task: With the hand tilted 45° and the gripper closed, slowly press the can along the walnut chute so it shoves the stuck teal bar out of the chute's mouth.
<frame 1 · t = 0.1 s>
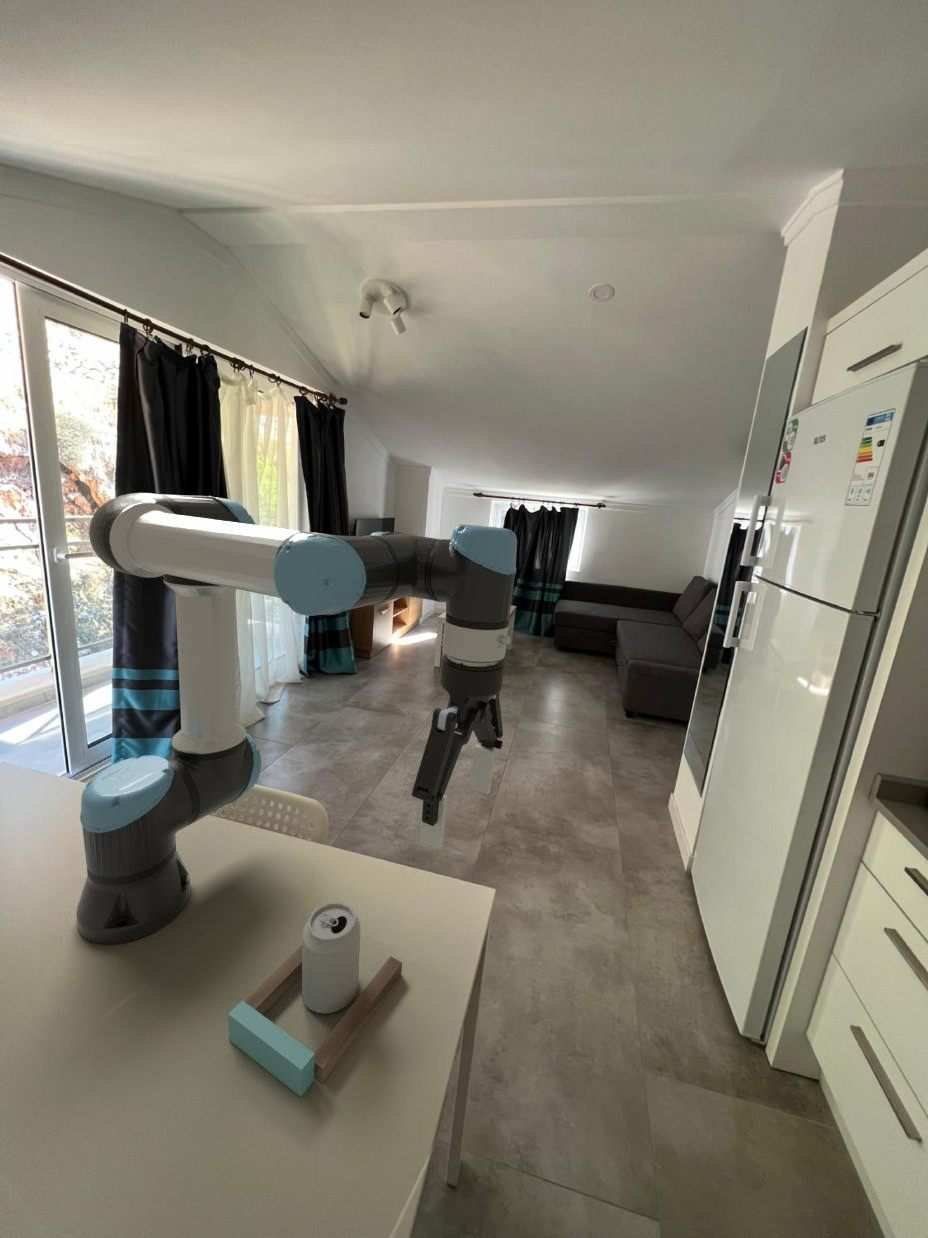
hand: (458, 814, 64), 28 cm above the table, tool pointing down, fingers open, 13 cm apart
can: (330, 993, 69), on the table
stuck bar: (270, 1046, 59), point 2 cm above the table, slide at 0.0 cm
chute: (325, 997, 68), on the table
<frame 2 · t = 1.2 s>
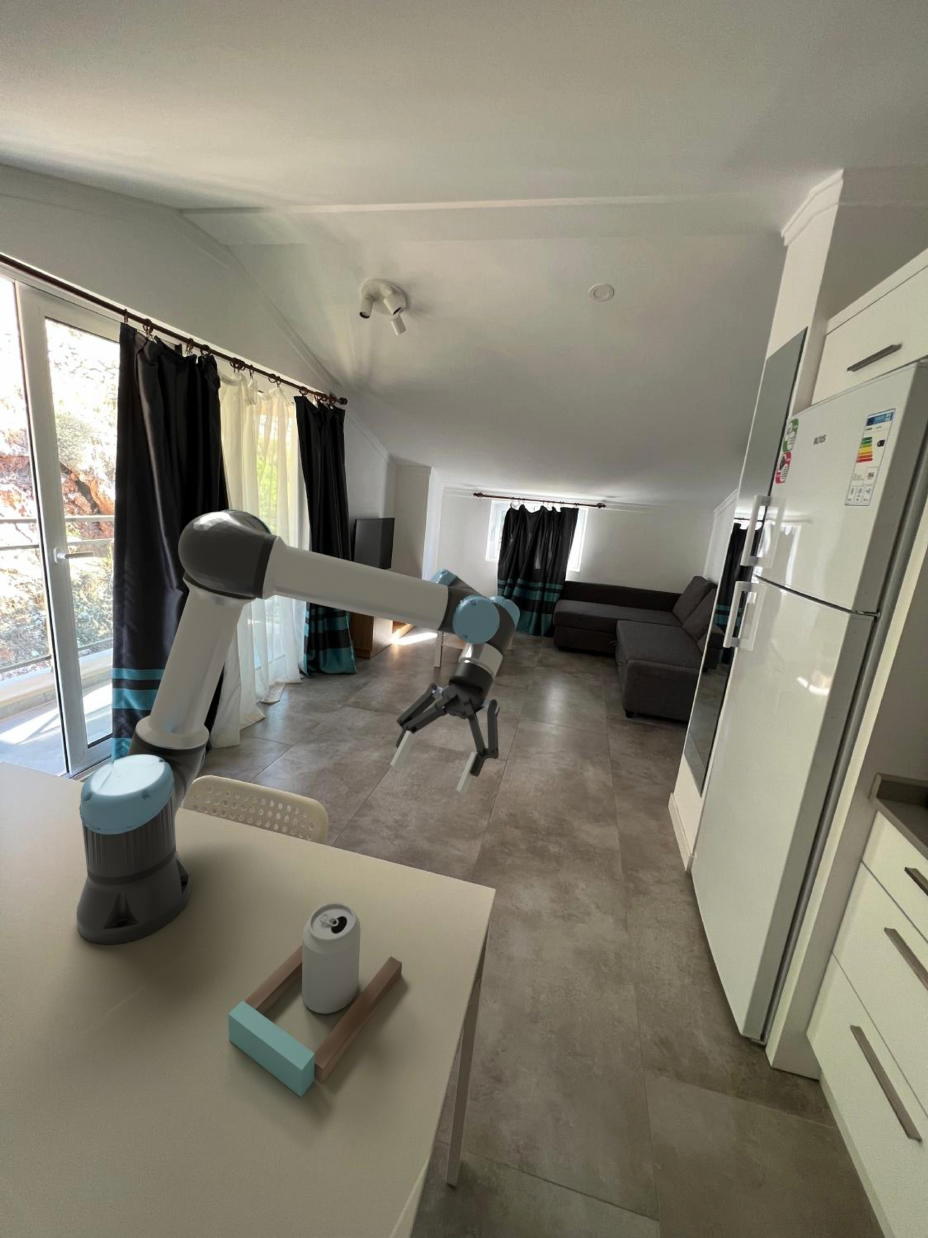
hand: (426, 780, 83), 22 cm above the table, tool tilted 45°, fingers open, 12 cm apart
nothing on the table moved.
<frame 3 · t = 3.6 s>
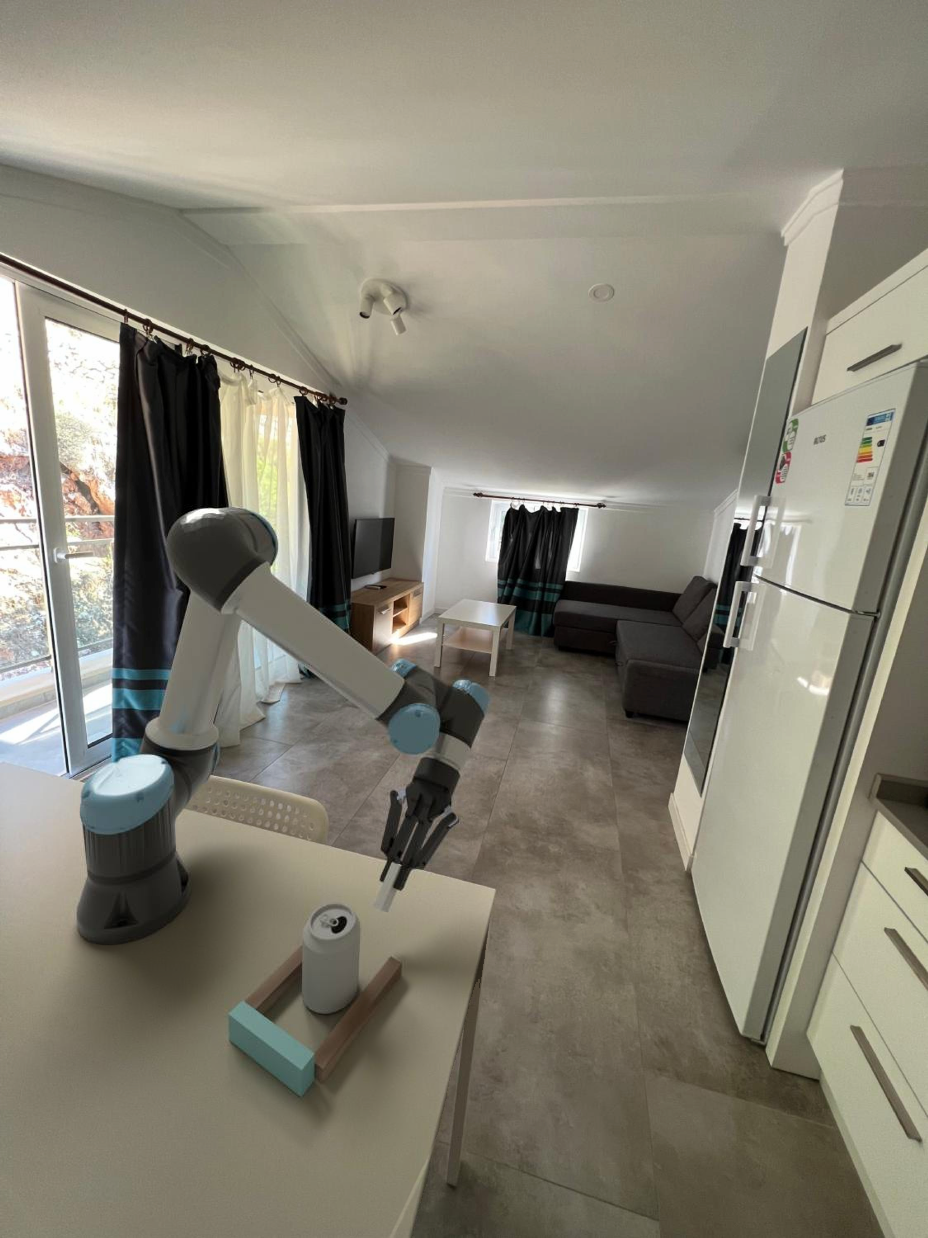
hand: (380, 909, 76), 6 cm above the table, tool tilted 45°, fingers closed
nothing on the table moved.
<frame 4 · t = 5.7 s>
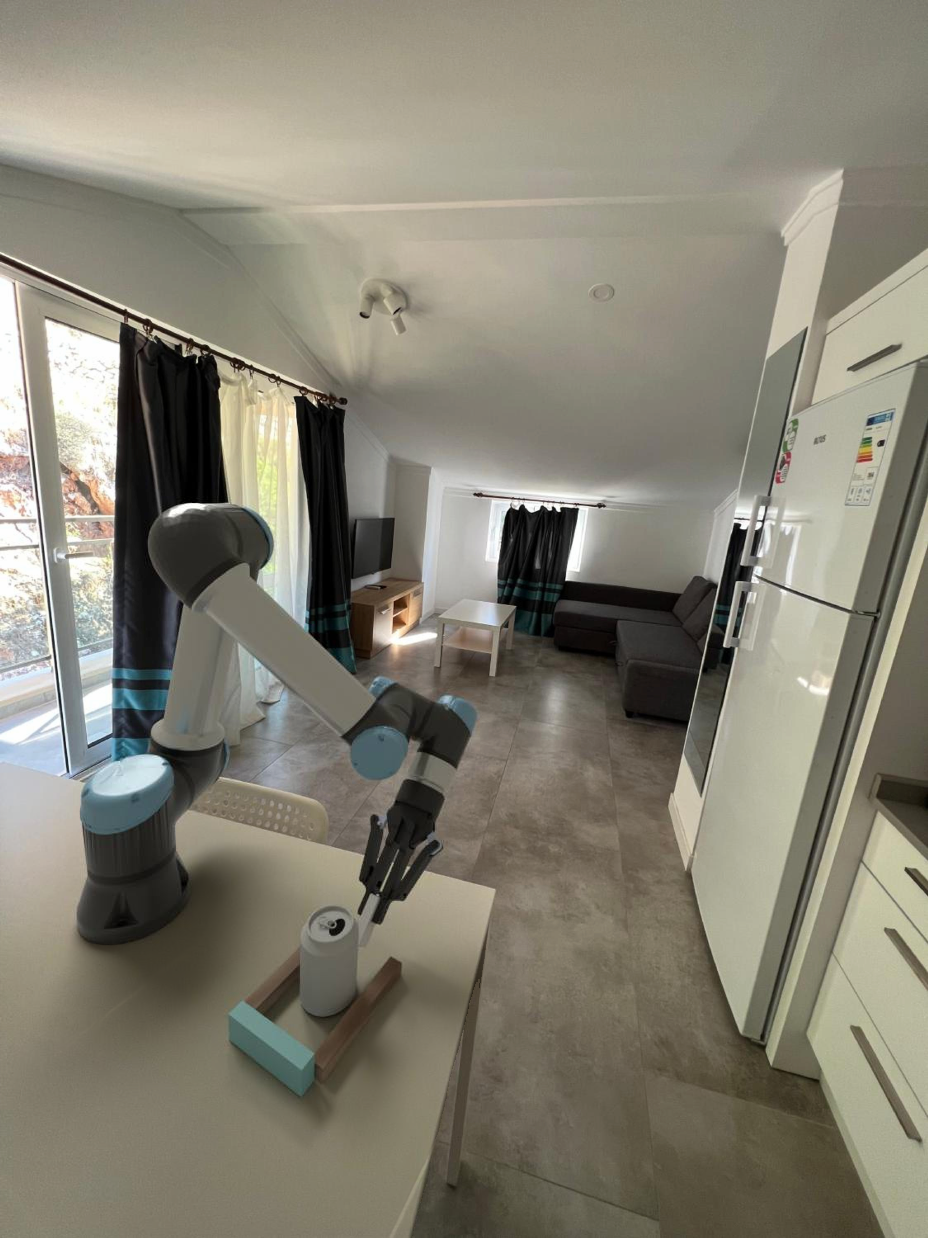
hand: (357, 944, 71), 4 cm above the table, tool tilted 45°, fingers closed
can: (328, 995, 68), on the table, touching gripper
everything else where it was.
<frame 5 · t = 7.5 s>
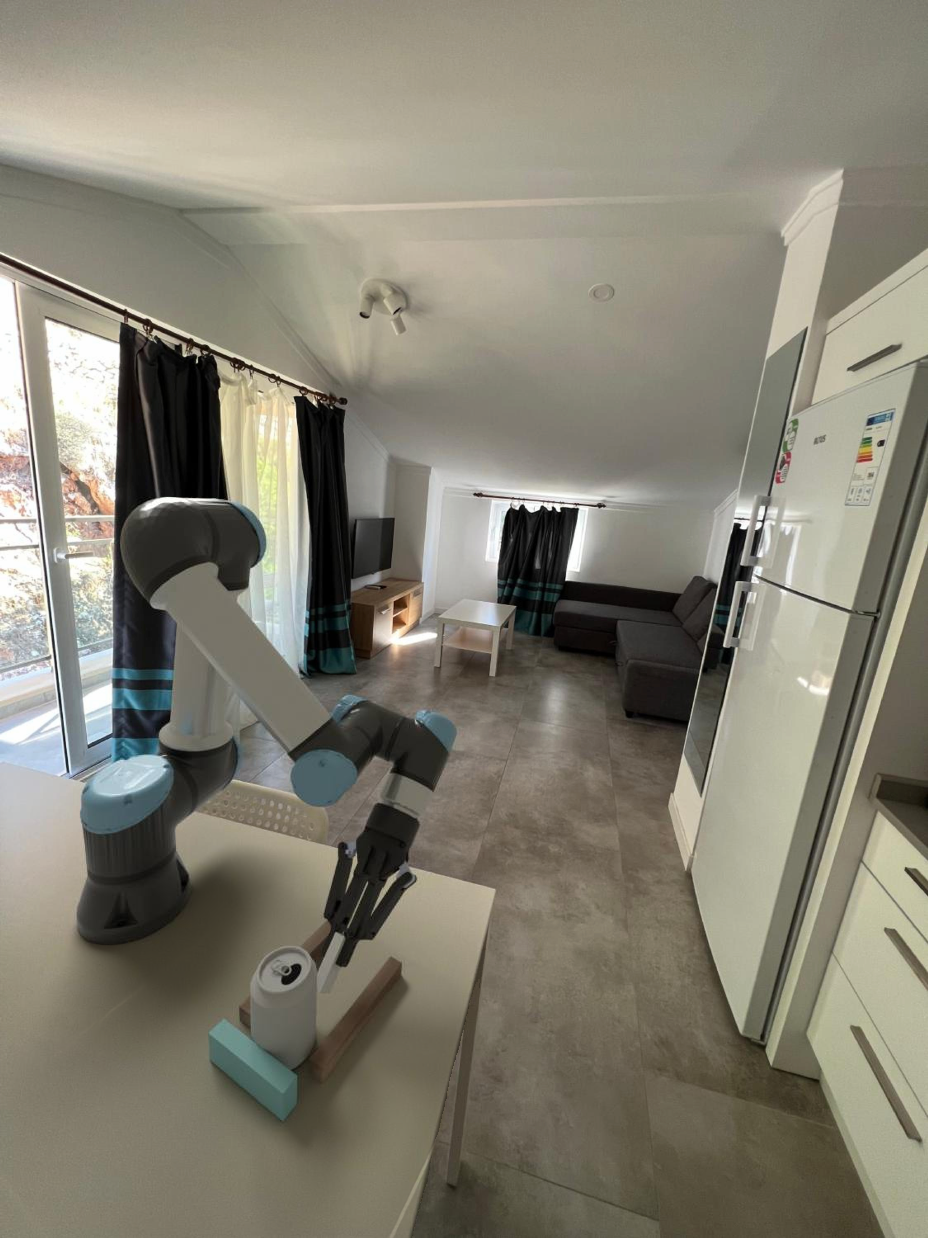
hand: (320, 990, 64), 4 cm above the table, tool tilted 45°, fingers closed
can: (284, 1047, 61), on the table, touching gripper, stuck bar
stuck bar: (251, 1067, 57), point 2 cm above the table, slide at 2.6 cm, touching can
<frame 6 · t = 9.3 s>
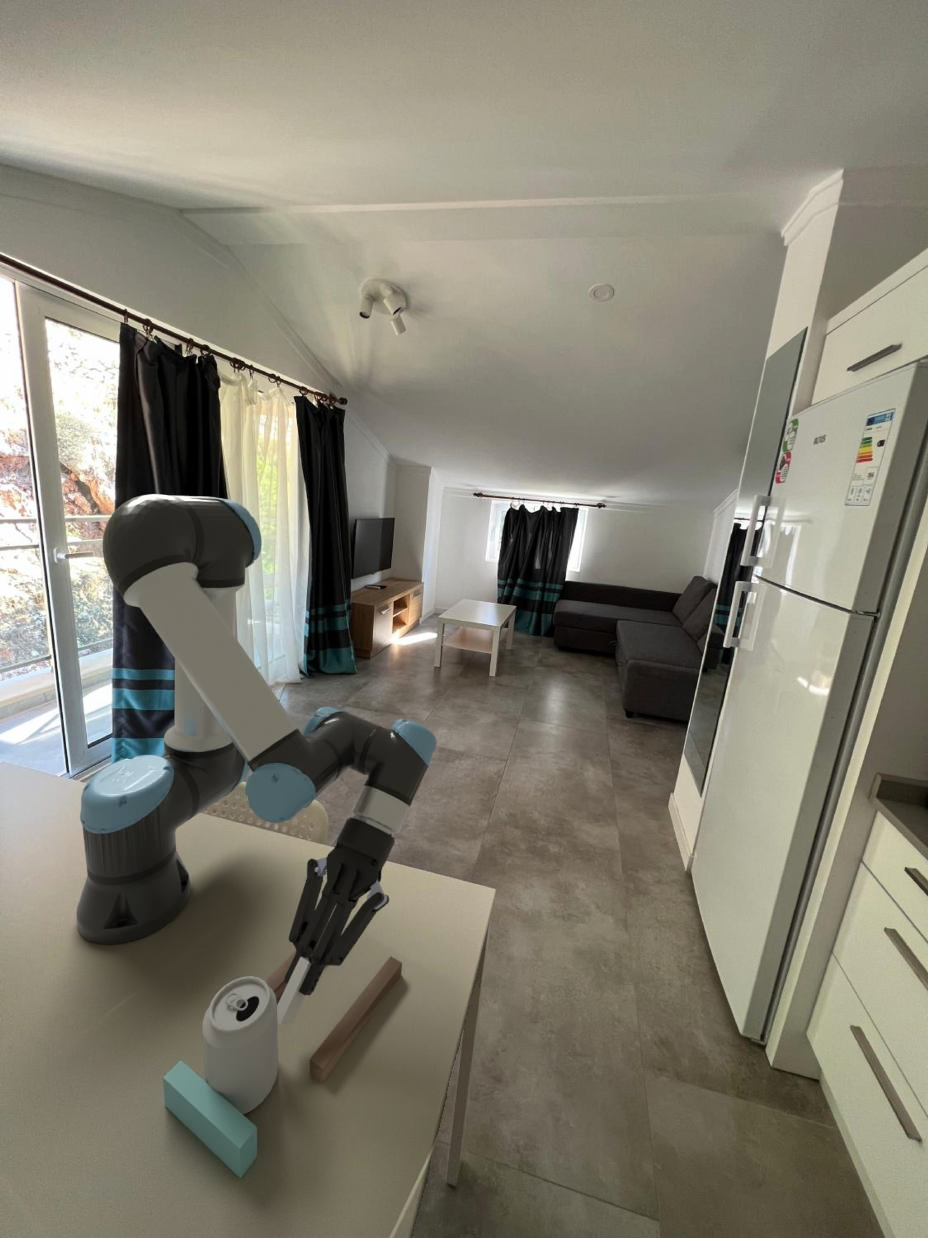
hand: (282, 1020, 60), 5 cm above the table, tool tilted 45°, fingers closed
can: (243, 1085, 57), on the table, touching gripper, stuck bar
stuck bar: (209, 1116, 52), point 2 cm above the table, slide at 8.0 cm, touching can
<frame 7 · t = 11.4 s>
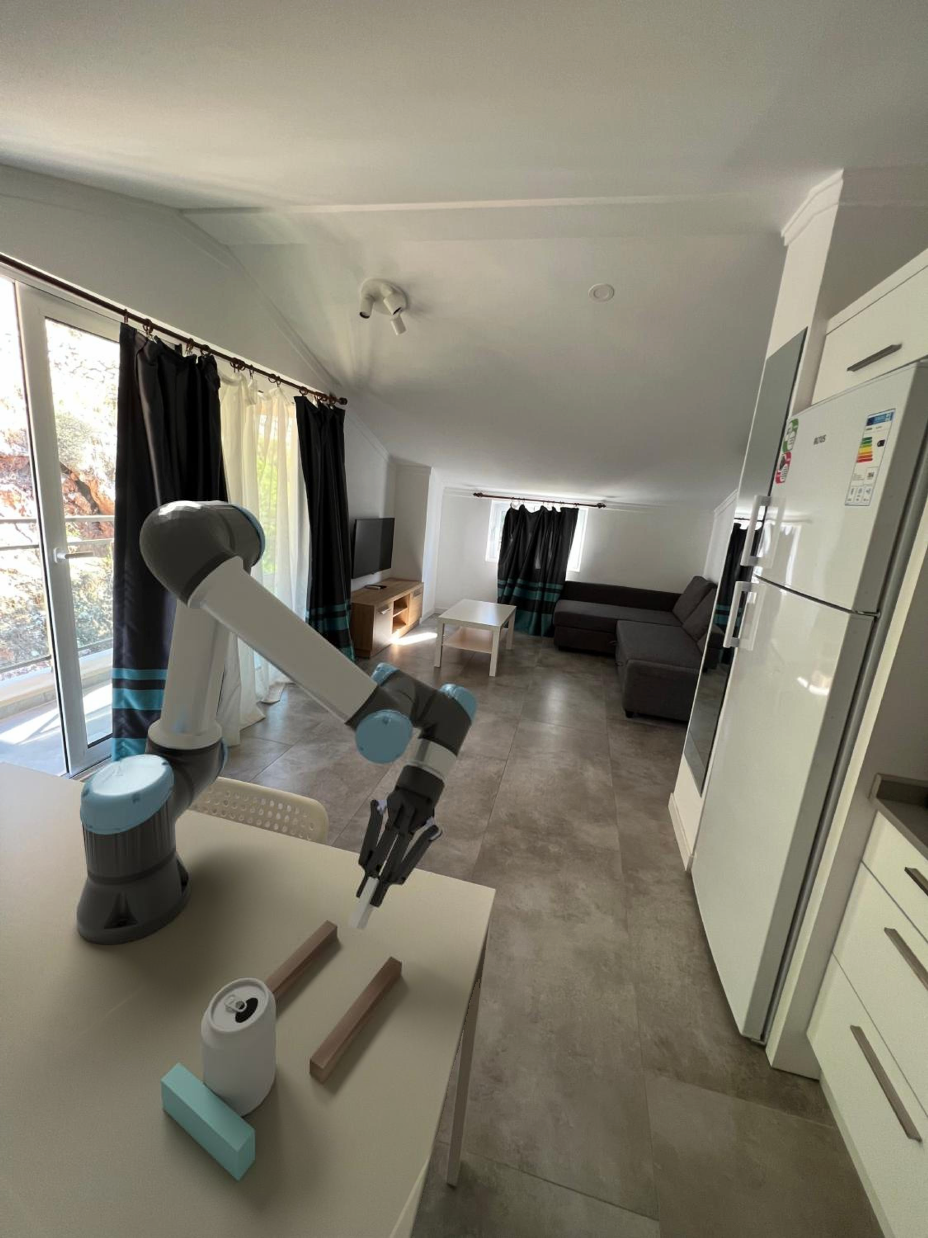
hand: (355, 927, 72), 6 cm above the table, tool tilted 45°, fingers closed
can: (240, 1087, 57), on the table
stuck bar: (206, 1118, 52), point 2 cm above the table, slide at 8.3 cm
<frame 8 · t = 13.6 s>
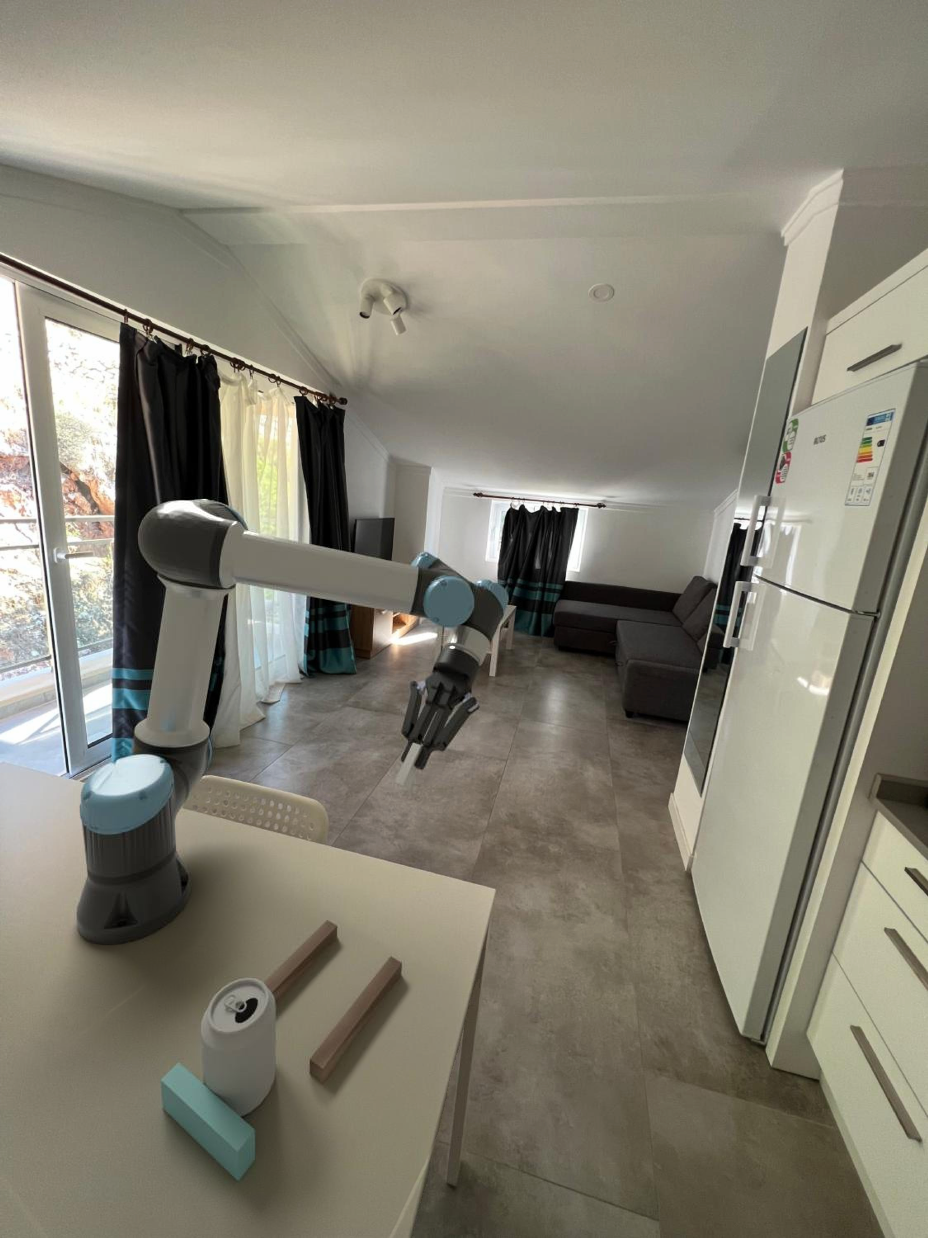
hand: (402, 785, 76), 24 cm above the table, tool tilted 45°, fingers closed
nothing on the table moved.
at the end: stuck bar slide at 8.3 cm; can inside the target area (1.5 cm from its centre), on the table; can tilted 0° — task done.
